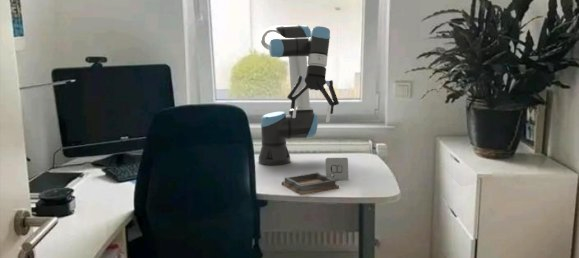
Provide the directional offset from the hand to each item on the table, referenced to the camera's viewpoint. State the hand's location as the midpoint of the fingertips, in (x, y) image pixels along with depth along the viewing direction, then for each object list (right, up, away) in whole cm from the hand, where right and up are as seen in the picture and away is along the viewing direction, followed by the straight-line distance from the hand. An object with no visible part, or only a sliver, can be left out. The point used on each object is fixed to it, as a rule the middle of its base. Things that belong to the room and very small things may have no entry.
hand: (310, 120), depth 219 cm
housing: (0, -27, +6) cm, 27 cm away
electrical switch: (+11, -25, +16) cm, 32 cm away
